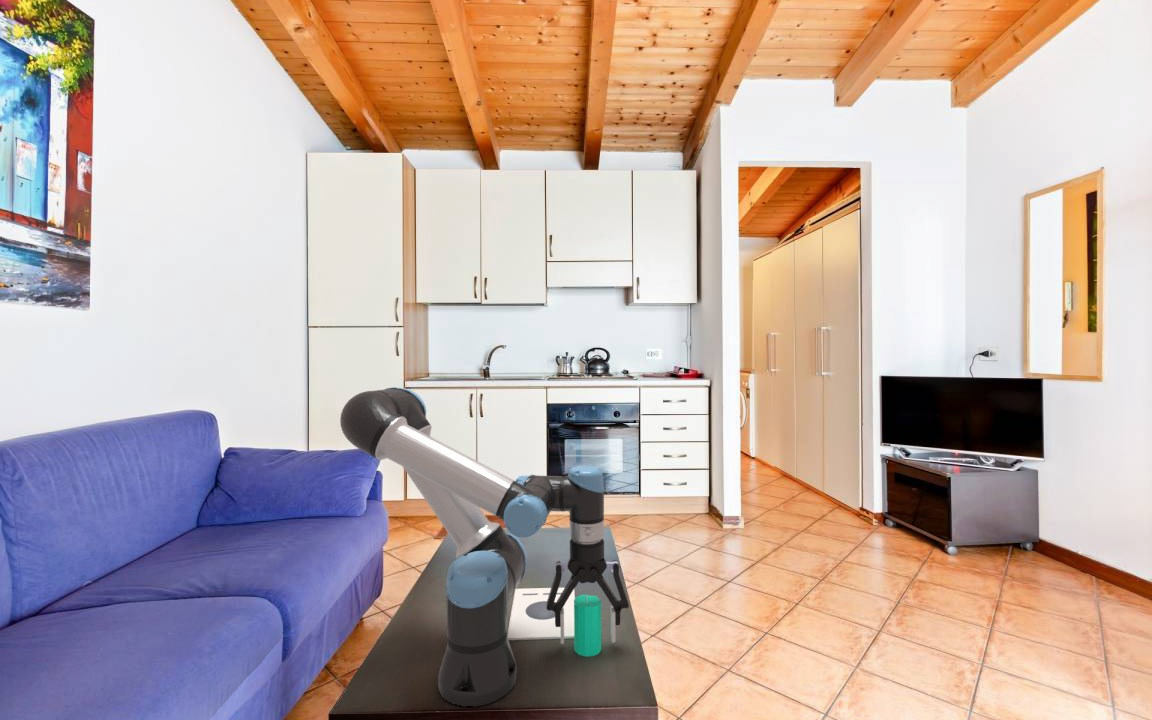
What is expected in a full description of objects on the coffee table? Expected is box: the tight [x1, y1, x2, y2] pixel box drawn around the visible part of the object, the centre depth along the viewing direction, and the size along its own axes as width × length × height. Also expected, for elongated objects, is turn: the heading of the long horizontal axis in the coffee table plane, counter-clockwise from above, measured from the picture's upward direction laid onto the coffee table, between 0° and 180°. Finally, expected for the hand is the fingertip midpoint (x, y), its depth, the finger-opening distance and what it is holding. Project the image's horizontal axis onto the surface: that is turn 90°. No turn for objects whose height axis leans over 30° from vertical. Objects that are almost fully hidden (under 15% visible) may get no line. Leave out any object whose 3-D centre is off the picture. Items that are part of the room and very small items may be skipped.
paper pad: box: [507, 587, 576, 641], centre depth 125 cm, size 24×16×1 cm, turn 2°
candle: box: [573, 593, 602, 657], centre depth 109 cm, size 6×6×12 cm
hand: (587, 639), depth 109 cm, fingers open, 10 cm apart
